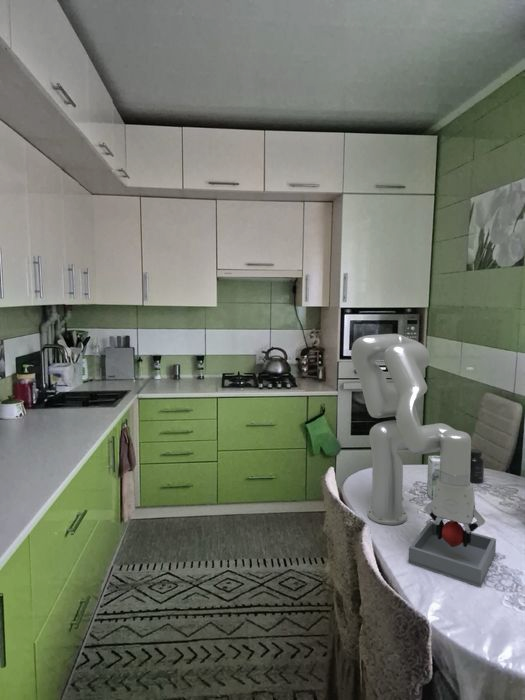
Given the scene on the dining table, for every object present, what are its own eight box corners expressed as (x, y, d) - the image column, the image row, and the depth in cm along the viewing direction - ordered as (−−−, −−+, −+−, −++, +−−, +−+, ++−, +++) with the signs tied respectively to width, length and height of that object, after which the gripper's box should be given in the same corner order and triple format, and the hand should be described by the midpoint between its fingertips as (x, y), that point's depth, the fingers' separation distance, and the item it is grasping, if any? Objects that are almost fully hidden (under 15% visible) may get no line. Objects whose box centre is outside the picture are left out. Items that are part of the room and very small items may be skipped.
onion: (458, 540, 127) (459, 513, 126) (468, 551, 121) (469, 523, 121) (437, 541, 127) (438, 513, 126) (446, 552, 121) (447, 524, 120)
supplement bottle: (460, 478, 179) (461, 448, 178) (474, 475, 181) (475, 446, 180) (473, 484, 173) (474, 454, 172) (487, 482, 175) (488, 452, 174)
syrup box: (443, 493, 166) (444, 455, 164) (448, 500, 160) (449, 460, 158) (426, 493, 167) (427, 454, 165) (431, 500, 161) (432, 460, 159)
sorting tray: (429, 534, 138) (429, 520, 137) (495, 554, 127) (495, 538, 126) (408, 563, 123) (408, 547, 123) (480, 587, 113) (481, 570, 112)
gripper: (417, 474, 125) (416, 537, 127) (486, 489, 114) (484, 557, 116) (426, 466, 131) (425, 526, 133) (492, 479, 120) (490, 544, 122)
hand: (453, 540), depth 124 cm, fingers closed on onion, 5 cm apart
